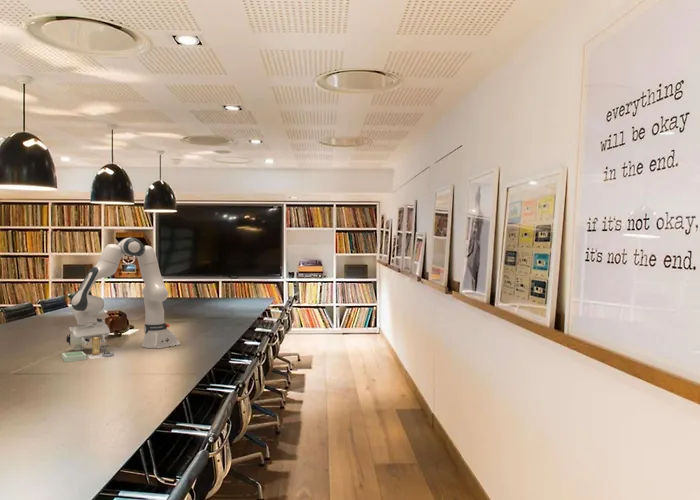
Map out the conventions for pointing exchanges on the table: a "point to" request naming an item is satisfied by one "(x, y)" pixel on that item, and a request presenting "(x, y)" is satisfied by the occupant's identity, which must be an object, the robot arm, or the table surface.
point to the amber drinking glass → (96, 345)
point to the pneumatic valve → (76, 343)
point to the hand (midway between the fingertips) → (95, 343)
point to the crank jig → (102, 354)
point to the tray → (74, 356)
